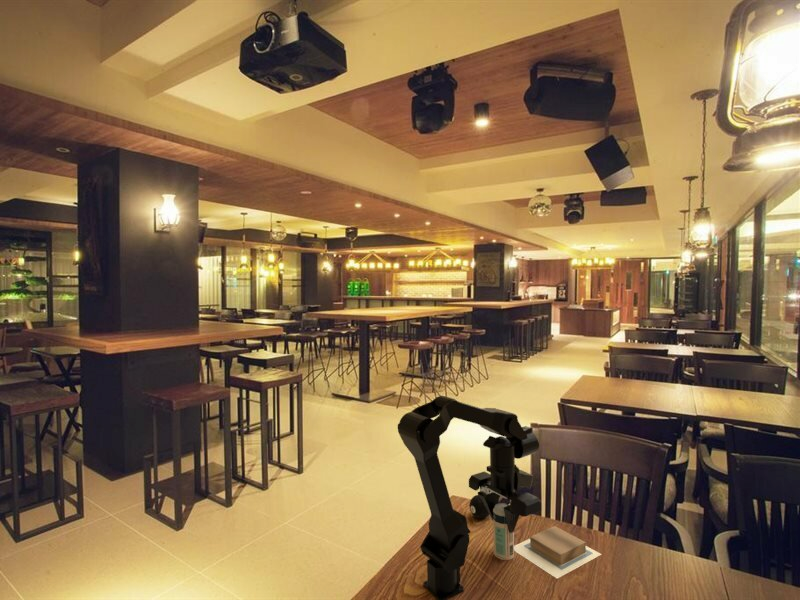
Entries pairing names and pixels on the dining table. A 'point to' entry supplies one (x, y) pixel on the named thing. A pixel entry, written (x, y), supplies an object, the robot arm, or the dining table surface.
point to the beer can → (502, 534)
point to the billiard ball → (478, 507)
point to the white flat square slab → (549, 564)
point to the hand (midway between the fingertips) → (503, 527)
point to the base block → (558, 545)
